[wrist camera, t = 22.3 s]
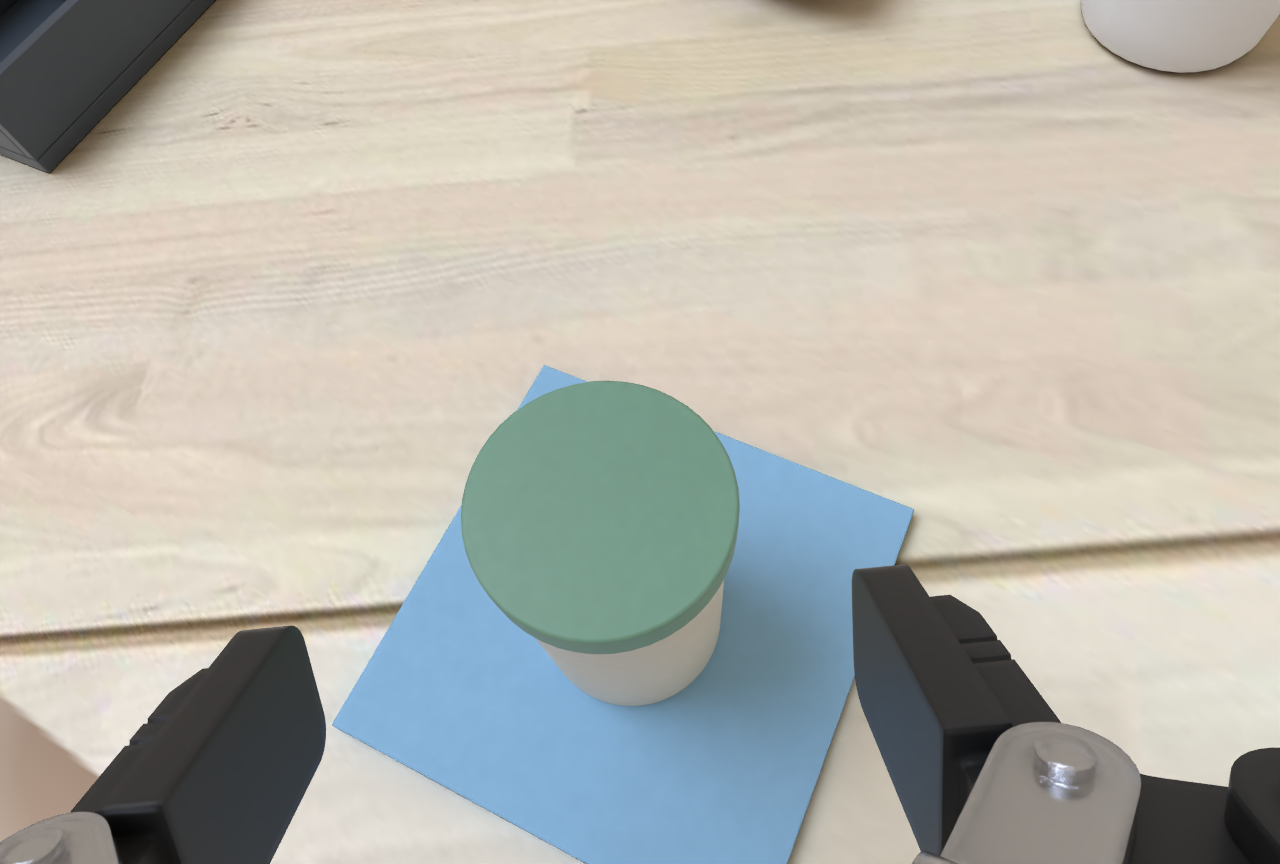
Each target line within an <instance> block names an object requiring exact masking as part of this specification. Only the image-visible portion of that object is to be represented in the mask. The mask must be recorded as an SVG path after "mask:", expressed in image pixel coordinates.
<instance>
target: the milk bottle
mask: <svg viewBox="0 0 1280 864" xmlns="http://www.w3.org/2000/svg"><path fill="white" fill-rule="evenodd" d="M1081 11H1082V14H1083V18H1084V22H1085V24H1086V25H1087V27H1088V28H1089V30H1090V32H1091V34H1092V35H1093V36H1094V37H1095V38H1096V39H1097V40H1098V41H1099V42H1100V43H1101V44H1102V45H1103V46H1105V47H1106V48H1108V49H1109V50H1110V51H1111V52H1113V53H1114V54H1116V55H1118V56H1120V57H1122V58H1124V59H1126V60H1127V61H1130V62H1133V63H1136V64H1138V65H1141V66H1143V67H1148V68H1152V69H1156V70H1160V71H1170V72H1179V73H1183V72H1201V71H1206V70H1212V69H1216V68H1218V67H1221V66H1224V65H1227V64H1229V63H1231V62H1233V61H1234V60H1236V59H1238V58H1240V57H1241V56H1243V55H1244V54H1246V53H1247V52H1249V51H1250V50H1251V49H1253V48H1254V47H1255V46H1256V45H1257V44H1258V43H1259V41H1260V40H1261V39H1262V37H1263V36H1264V35H1265V33H1266V32H1267V31H1268V29H1269V28H1270V27H1271V25H1272V24H1273V23H1274V21H1275V20H1276V18H1277V17H1278V16H1279V14H1280V0H1081Z"/></svg>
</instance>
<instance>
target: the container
mask: <svg viewBox="0 0 1280 864" xmlns="http://www.w3.org/2000/svg"><path fill="white" fill-rule="evenodd" d="M739 512H740V502H739V489H738V484H737V480H736V475H735V471H734V469H733V466H732V463H731V460H730V458H729V456H728V454H727V452H726V450H725V448H724V446H723V444H722V442H721V441H720V440H719V438H718V437H717V435H716V434H715V433H714V431H713V430H712V429H711V428H710V426H709V425H708V424H707V423H706V422H705V421H704V420H703V419H702V418H701V417H700V416H699V415H698V414H696V413H695V412H694V411H693V410H691V409H690V408H689V407H688V406H686V405H685V404H683V403H681V402H680V401H678V400H676V399H675V398H673V397H671V396H669V395H667V394H665V393H662V392H660V391H658V390H655V389H652V388H649V387H646V386H643V385H638V384H633V383H628V382H618V381H593V382H585V383H579V384H574V385H570V386H566V387H563V388H559V389H556V390H554V391H551V392H549V393H547V394H544V395H542V396H540V397H538V398H536V399H534V400H533V401H531V402H529V403H527V404H526V405H524V406H523V407H522V408H520V409H519V410H517V411H516V412H514V413H513V414H512V415H511V416H510V417H509V418H508V419H506V420H505V421H504V422H503V423H502V424H501V425H500V426H499V427H498V428H497V429H496V431H495V432H494V433H493V434H492V435H491V436H490V437H489V439H488V440H487V442H486V443H485V445H484V446H483V448H482V449H481V451H480V452H479V454H478V456H477V458H476V460H475V462H474V464H473V466H472V468H471V471H470V473H469V476H468V479H467V482H466V485H465V490H464V494H463V499H462V509H461V528H462V538H463V542H464V547H465V552H466V555H467V558H468V560H469V563H470V566H471V568H472V570H473V572H474V574H475V576H476V578H477V580H478V582H479V583H480V585H481V586H482V588H483V589H484V590H485V592H486V593H487V594H488V596H489V597H490V598H491V600H492V601H493V602H494V603H495V604H496V605H497V607H498V608H499V609H500V610H501V611H502V612H503V613H504V614H505V615H506V616H507V617H508V618H509V619H510V620H511V621H512V622H513V623H514V624H515V625H517V626H518V627H519V628H521V629H522V630H523V631H524V632H526V633H527V634H529V635H531V636H533V637H534V638H535V639H536V640H537V641H538V642H539V644H540V645H541V646H542V647H543V649H544V650H545V651H546V652H547V654H548V655H549V656H550V657H551V659H552V660H553V661H554V662H555V664H556V665H557V666H558V667H559V669H560V670H561V671H562V672H563V674H564V675H565V676H566V677H567V678H568V679H569V680H570V681H571V682H572V683H573V684H574V685H575V686H576V687H578V688H579V689H580V690H582V691H583V692H585V693H586V694H588V695H590V696H591V697H593V698H596V699H598V700H601V701H603V702H607V703H610V704H614V705H622V706H641V705H648V704H653V703H656V702H659V701H662V700H665V699H667V698H669V697H671V696H673V695H675V694H677V693H678V692H680V691H681V690H683V689H684V688H686V687H687V686H688V685H689V684H690V683H692V682H693V681H694V680H695V679H696V678H697V676H698V675H699V674H700V673H701V672H702V671H703V669H704V668H705V666H706V665H707V663H708V662H709V660H710V658H711V656H712V654H713V652H714V649H715V646H716V644H717V641H718V636H719V631H720V623H721V611H722V599H723V588H724V578H725V576H726V574H727V572H728V570H729V567H730V564H731V561H732V559H733V555H734V551H735V546H736V541H737V534H738V525H739Z"/></svg>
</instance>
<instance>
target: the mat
mask: <svg viewBox="0 0 1280 864" xmlns="http://www.w3.org/2000/svg"><path fill="white" fill-rule="evenodd" d="M585 382H586V381H584V380H581V379H579V378H576V377H574V376H571V375H568V374H566V373H563V372H561V371H558V370H556V369H553V368H551V367H548V366H545V365H544V366H543V368H542V369H541V371H540V373H539V375H538V376H537V378H536V380H535V381H534V383H533V385H532V386H531V388H530V390H529V392H528V393H527V395H526V397H525V398H524V400H523V402H522V403H521V405H520V407H519V408H518V410H519V409H520V408H522V407H523V406H524V405H526V404H527V403H529V402H531V401H533V400H534V399H536V398H538V397H540V396H542V395H544V394H547V393H549V392H551V391H554V390H556V389H559V388H563V387H566V386H570V385H574V384H579V383H585ZM714 433H715V434H716V435H717V437H718V438H719V440H720V441H721V442H722V444H723V446H724V448H725V450H726V452H727V454H728V456H729V458H730V460H731V463H732V466H733V469H734V471H735V475H736V480H737V484H738V489H739V502H740V512H739V525H738V534H737V541H736V546H735V551H734V555H733V559H732V561H731V564H730V567H729V570H728V572H727V574H726V576H725V578H724V588H723V599H722V611H721V623H720V631H719V636H718V641H717V644H716V646H715V649H714V652H713V654H712V656H711V658H710V660H709V662H708V663H707V665H706V666H705V668H704V669H703V671H702V672H701V673H700V674H699V675H698V676H697V678H696V679H695V680H694V681H693V682H692V683H690V684H689V685H688V686H687V687H686V688H684V689H683V690H681V691H680V692H678V693H677V694H675V695H673V696H671V697H669V698H667V699H665V700H662V701H659V702H656V703H653V704H648V705H641V706H622V705H614V704H610V703H607V702H603V701H601V700H598V699H596V698H593V697H591V696H590V695H588V694H586V693H585V692H583V691H582V690H580V689H579V688H578V687H576V686H575V685H574V684H573V683H572V682H571V681H570V680H569V679H568V678H567V677H566V676H565V675H564V674H563V672H562V671H561V670H560V669H559V667H558V666H557V665H556V664H555V662H554V661H553V660H552V659H551V657H550V656H549V655H548V654H547V652H546V651H545V650H544V649H543V647H542V646H541V645H540V644H539V642H538V641H537V640H536V639H535V638H534V637H533V636H531V635H529V634H527V633H526V632H524V631H523V630H522V629H521V628H519V627H518V626H517V625H515V624H514V623H513V622H512V621H511V620H510V619H509V618H508V617H507V616H506V615H505V614H504V613H503V612H502V611H501V610H500V609H499V608H498V607H497V605H496V604H495V603H494V602H493V601H492V600H491V598H490V597H489V596H488V594H487V593H486V592H485V590H484V589H483V588H482V586H481V585H480V583H479V582H478V580H477V578H476V576H475V574H474V572H473V570H472V568H471V566H470V563H469V560H468V558H467V555H466V552H465V547H464V542H463V538H462V528H461V509H462V505H461V507H460V508H459V510H458V512H457V514H456V515H455V517H454V519H453V520H452V522H451V524H450V525H449V527H448V529H447V530H446V532H445V534H444V536H443V537H442V539H441V541H440V542H439V544H438V546H437V547H436V549H435V551H434V553H433V554H432V556H431V558H430V559H429V561H428V563H427V564H426V566H425V568H424V569H423V571H422V573H421V575H420V576H419V578H418V580H417V581H416V583H415V585H414V586H413V588H412V590H411V592H410V593H409V595H408V597H407V598H406V600H405V602H404V603H403V605H402V607H401V608H400V610H399V612H398V614H397V615H396V617H395V619H394V620H393V622H392V624H391V625H390V627H389V629H388V631H387V632H386V634H385V636H384V637H383V639H382V641H381V642H380V644H379V646H378V647H377V649H376V651H375V653H374V654H373V656H372V658H371V659H370V661H369V663H368V664H367V666H366V668H365V669H364V671H363V673H362V675H361V676H360V678H359V680H358V681H357V683H356V685H355V686H354V688H353V690H352V692H351V693H350V695H349V697H348V698H347V700H346V702H345V703H344V705H343V707H342V708H341V710H340V712H339V714H338V715H337V717H336V719H335V720H334V722H333V724H332V725H333V726H334V727H336V728H337V729H339V730H341V731H343V732H345V733H347V734H348V735H350V736H352V737H354V738H356V739H358V740H360V741H361V742H363V743H365V744H367V745H369V746H371V747H372V748H374V749H376V750H378V751H380V752H382V753H383V754H385V755H387V756H389V757H391V758H393V759H394V760H396V761H398V762H400V763H402V764H404V765H406V766H407V767H409V768H411V769H413V770H415V771H417V772H418V773H420V774H422V775H424V776H426V777H428V778H429V779H431V780H433V781H435V782H437V783H439V784H440V785H442V786H444V787H446V788H448V789H450V790H452V791H453V792H455V793H457V794H459V795H461V796H463V797H464V798H466V799H468V800H470V801H472V802H474V803H475V804H477V805H479V806H481V807H483V808H485V809H486V810H488V811H490V812H492V813H494V814H496V815H498V816H499V817H501V818H503V819H505V820H507V821H509V822H510V823H512V824H514V825H516V826H518V827H520V828H521V829H523V830H525V831H527V832H529V833H531V834H532V835H534V836H536V837H538V838H540V839H542V840H544V841H545V842H547V843H549V844H551V845H553V846H555V847H556V848H558V849H560V850H562V851H564V852H566V853H567V854H569V855H571V856H573V857H575V858H577V859H578V860H580V861H582V862H584V863H586V864H787V863H788V860H789V857H790V855H791V852H792V849H793V846H794V843H795V841H796V838H797V835H798V832H799V830H800V827H801V824H802V821H803V818H804V816H805V813H806V810H807V807H808V804H809V802H810V799H811V796H812V793H813V791H814V788H815V785H816V782H817V779H818V777H819V774H820V771H821V768H822V766H823V763H824V760H825V757H826V754H827V752H828V749H829V746H830V743H831V741H832V738H833V735H834V732H835V729H836V727H837V724H838V721H839V718H840V715H841V713H842V710H843V707H844V704H845V702H846V699H847V696H848V693H849V690H850V688H851V685H852V682H853V679H854V677H855V673H854V659H853V620H852V574H853V571H854V570H855V569H862V568H872V567H882V566H892V565H895V563H896V560H897V557H898V554H899V551H900V549H901V546H902V543H903V540H904V537H905V535H906V532H907V529H908V526H909V524H910V521H911V518H912V515H913V512H914V509H912V508H909V507H907V506H904V505H902V504H899V503H896V502H894V501H891V500H889V499H886V498H884V497H881V496H878V495H876V494H873V493H871V492H868V491H866V490H863V489H861V488H858V487H855V486H853V485H850V484H848V483H845V482H843V481H840V480H837V479H835V478H832V477H830V476H827V475H825V474H822V473H820V472H817V471H814V470H812V469H809V468H807V467H804V466H802V465H799V464H796V463H794V462H791V461H789V460H786V459H784V458H781V457H779V456H776V455H773V454H771V453H768V452H766V451H763V450H761V449H758V448H755V447H753V446H750V445H748V444H745V443H743V442H740V441H738V440H735V439H732V438H730V437H727V436H725V435H722V434H720V433H717V432H715V431H714Z"/></svg>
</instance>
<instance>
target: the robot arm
mask: <svg viewBox="0 0 1280 864" xmlns="http://www.w3.org/2000/svg"><path fill="white" fill-rule="evenodd" d="M852 620H853V659H854V673H855V680H856V686H857V691H858V696H859V699H860V703H861V706H862V709H863V711H864V714H865V716H866V719H867V721H868V723H869V726H870V728H871V731H872V733H873V736H874V738H875V741H876V743H877V745H878V748H879V750H880V753H881V755H882V758H883V760H884V762H885V765H886V767H887V770H888V772H889V775H890V777H891V779H892V782H893V784H894V787H895V789H896V792H897V794H898V797H899V799H900V801H901V804H902V806H903V809H904V811H905V814H906V816H907V818H908V821H909V823H910V826H911V828H912V831H913V833H914V835H915V838H916V840H917V843H918V845H919V848H920V850H921V852H920V853H919V854H918V855H917V857H916V858H915V860H914V861H913V863H912V864H1280V748H1264V749H1258V750H1254V751H1250V752H1248V753H1246V754H1244V755H1242V756H1240V757H1239V758H1238V759H1237V760H1236V761H1235V762H1234V764H1233V766H1232V768H1231V773H1230V780H1229V787H1223V786H1216V785H1208V784H1201V783H1194V782H1186V781H1179V780H1171V779H1164V778H1158V777H1152V776H1147V775H1143V774H1140V773H1139V771H1138V769H1137V767H1136V765H1135V764H1134V762H1133V761H1132V760H1131V758H1130V757H1129V756H1128V755H1127V754H1126V753H1125V752H1124V751H1123V750H1122V749H1121V748H1119V747H1118V746H1117V745H1115V744H1114V743H1112V742H1111V741H1109V740H1107V739H1106V738H1104V737H1102V736H1100V735H1098V734H1096V733H1094V732H1091V731H1089V730H1086V729H1083V728H1080V727H1077V726H1072V725H1068V724H1063V723H1061V722H1060V720H1059V719H1058V718H1057V716H1056V715H1055V714H1054V712H1053V711H1052V710H1051V708H1050V707H1049V706H1048V704H1047V703H1046V702H1045V700H1044V699H1043V698H1042V696H1041V695H1040V694H1039V692H1038V691H1037V689H1036V688H1035V687H1034V685H1033V684H1032V683H1031V681H1030V680H1029V679H1028V677H1027V676H1026V675H1025V673H1024V672H1023V671H1022V669H1021V668H1020V667H1019V665H1018V664H1017V663H1016V661H1015V660H1012V659H1011V654H1010V653H1009V652H1008V650H1007V649H1006V648H1005V646H1004V645H1003V644H1002V642H1001V641H1000V640H997V636H996V634H995V633H994V632H993V630H992V629H991V627H990V626H989V625H988V623H987V622H986V621H985V619H984V618H983V617H982V615H981V614H980V613H979V612H977V611H976V610H974V609H972V608H971V607H969V606H968V605H966V604H964V603H963V602H961V601H959V600H958V599H956V598H955V597H953V596H951V595H944V596H934V597H929V596H928V594H927V593H926V591H925V589H924V588H923V586H922V585H921V583H920V582H919V580H918V579H917V577H916V576H915V574H914V573H913V571H912V570H911V568H910V567H909V566H908V565H906V564H903V565H892V566H882V567H872V568H862V569H855V570H854V571H853V574H852ZM325 739H326V723H325V716H324V712H323V708H322V704H321V701H320V697H319V693H318V689H317V686H316V682H315V678H314V674H313V671H312V667H311V663H310V659H309V656H308V652H307V648H306V645H305V641H304V638H303V636H302V633H301V632H300V630H299V629H298V628H297V627H295V626H283V627H273V628H263V629H252V630H243V631H240V632H238V633H237V634H236V635H235V636H234V637H233V638H232V639H231V641H230V642H229V643H228V644H227V646H226V647H225V648H224V649H223V651H222V652H221V653H220V654H219V656H218V657H217V658H216V659H215V661H214V662H213V663H212V664H211V666H210V667H209V668H207V669H202V670H200V671H199V672H197V673H196V674H195V675H193V676H192V677H191V678H189V679H188V680H186V681H185V682H184V683H182V684H181V685H179V686H178V687H177V688H175V689H174V690H173V691H171V692H170V693H169V694H168V695H167V696H166V697H165V699H164V700H163V701H162V702H161V703H160V705H159V706H158V707H157V708H156V709H155V711H154V712H153V713H152V714H151V715H150V717H149V718H148V723H147V724H143V725H142V726H141V727H140V729H139V730H138V731H137V732H136V733H135V735H134V736H133V737H132V738H131V740H130V745H129V746H125V747H124V748H123V749H122V750H121V752H120V753H119V754H118V755H117V756H116V758H115V759H114V760H113V761H112V762H111V764H110V765H109V766H108V767H107V768H106V770H105V771H104V772H103V773H102V774H101V776H100V777H99V778H98V779H97V780H96V782H95V783H94V784H93V785H92V786H91V788H90V789H89V790H88V791H87V793H86V794H85V795H84V796H83V797H82V799H81V800H80V801H79V802H78V803H77V804H76V806H75V807H74V808H73V809H72V811H71V812H70V813H66V814H61V815H57V816H54V817H51V818H47V819H44V820H42V821H39V822H37V823H35V824H32V825H30V826H28V827H26V828H24V829H22V830H20V831H18V832H16V833H15V834H13V835H11V836H9V837H8V838H6V839H5V840H3V841H2V842H0V864H270V862H271V860H272V858H273V856H274V854H275V852H276V850H277V848H278V846H279V844H280V842H281V840H282V838H283V836H284V834H285V832H286V830H287V828H288V826H289V824H290V822H291V820H292V818H293V816H294V814H295V812H296V810H297V808H298V806H299V804H300V802H301V800H302V798H303V796H304V794H305V792H306V790H307V788H308V786H309V784H310V782H311V780H312V778H313V776H314V774H315V772H316V769H317V767H318V765H319V763H320V761H321V759H322V756H323V752H324V747H325Z"/></svg>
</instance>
